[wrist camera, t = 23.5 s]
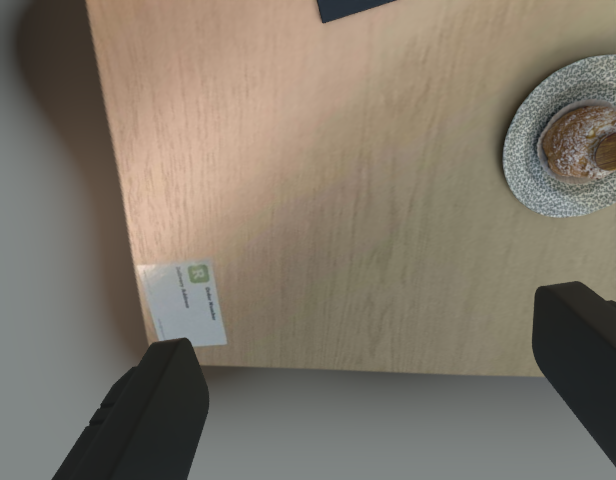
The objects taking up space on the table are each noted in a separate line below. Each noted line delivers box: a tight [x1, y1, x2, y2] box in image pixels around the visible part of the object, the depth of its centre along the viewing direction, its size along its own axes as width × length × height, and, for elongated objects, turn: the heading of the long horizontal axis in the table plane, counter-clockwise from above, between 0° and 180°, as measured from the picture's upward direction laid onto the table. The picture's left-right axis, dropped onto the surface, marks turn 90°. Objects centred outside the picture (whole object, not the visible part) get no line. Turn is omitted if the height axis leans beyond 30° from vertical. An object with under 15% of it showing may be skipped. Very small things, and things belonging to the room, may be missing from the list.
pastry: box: [502, 54, 616, 218], centre depth 27 cm, size 12×12×5 cm
